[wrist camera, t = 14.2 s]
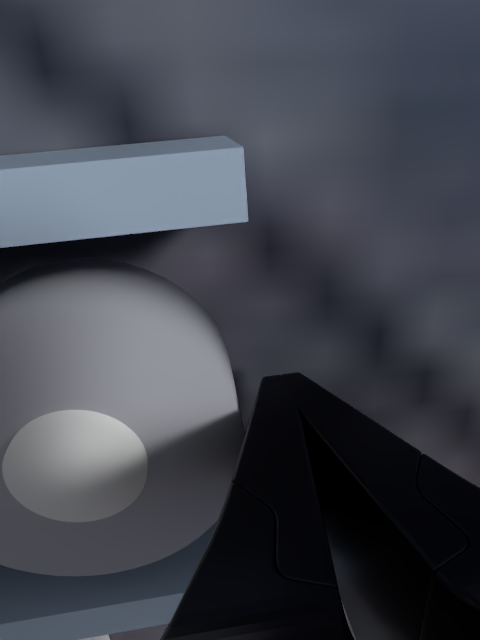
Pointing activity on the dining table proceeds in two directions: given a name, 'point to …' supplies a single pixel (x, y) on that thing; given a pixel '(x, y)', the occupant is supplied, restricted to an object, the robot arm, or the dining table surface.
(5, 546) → the wheel
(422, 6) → the dining table surface
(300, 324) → the dining table surface
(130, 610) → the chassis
